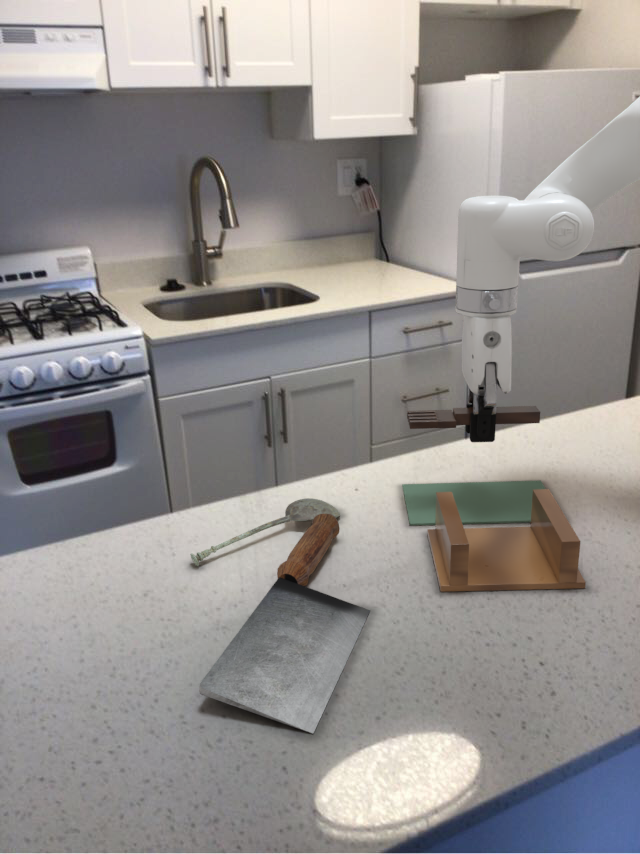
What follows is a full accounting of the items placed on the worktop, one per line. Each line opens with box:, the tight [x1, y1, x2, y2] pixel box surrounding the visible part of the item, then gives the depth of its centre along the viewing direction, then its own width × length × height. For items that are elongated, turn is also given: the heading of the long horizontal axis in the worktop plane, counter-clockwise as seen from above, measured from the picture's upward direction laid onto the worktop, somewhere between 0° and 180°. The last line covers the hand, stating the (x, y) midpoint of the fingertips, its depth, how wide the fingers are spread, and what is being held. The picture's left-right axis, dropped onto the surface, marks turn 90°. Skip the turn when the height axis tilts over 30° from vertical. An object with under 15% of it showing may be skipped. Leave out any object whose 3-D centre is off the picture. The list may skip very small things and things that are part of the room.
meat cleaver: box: [198, 514, 371, 734], centre depth 81 cm, size 34×11×4 cm, turn 162°
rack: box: [426, 488, 587, 593], centre depth 89 cm, size 16×13×6 cm
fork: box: [406, 405, 541, 430], centre depth 100 cm, size 17×4×2 cm, turn 89°
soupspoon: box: [190, 497, 341, 567], centre depth 97 cm, size 22×3×7 cm
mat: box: [401, 479, 546, 526], centre depth 104 cm, size 20×12×1 cm, turn 89°
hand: (479, 435), depth 101 cm, fingers closed on fork, 2 cm apart
